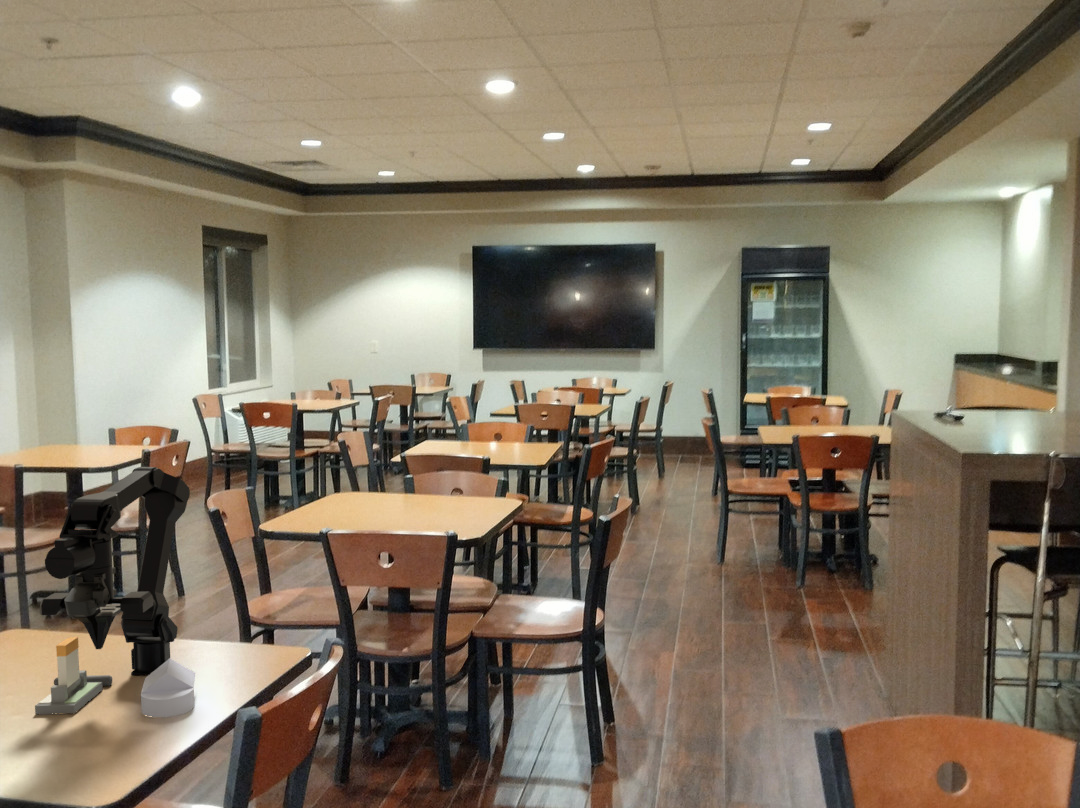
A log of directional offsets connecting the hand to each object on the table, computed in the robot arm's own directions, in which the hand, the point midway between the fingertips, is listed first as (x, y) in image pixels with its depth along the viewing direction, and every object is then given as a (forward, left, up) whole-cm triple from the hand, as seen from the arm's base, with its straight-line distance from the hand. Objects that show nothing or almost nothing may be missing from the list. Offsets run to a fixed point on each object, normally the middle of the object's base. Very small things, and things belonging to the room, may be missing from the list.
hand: (99, 648), depth 185 cm
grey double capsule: (+7, -9, -10) cm, 15 cm away
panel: (+6, 0, -10) cm, 12 cm away
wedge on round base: (-13, +2, -10) cm, 17 cm away
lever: (+6, 0, -7) cm, 9 cm away
